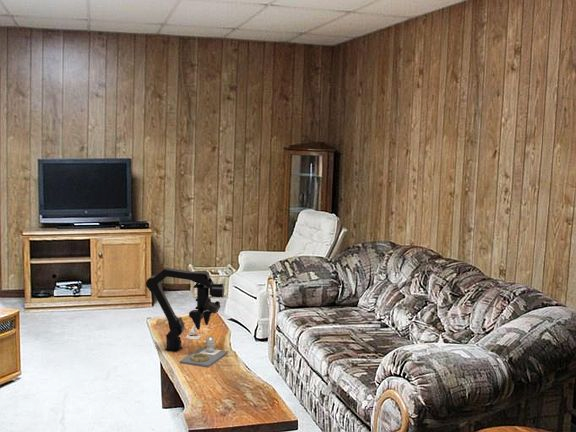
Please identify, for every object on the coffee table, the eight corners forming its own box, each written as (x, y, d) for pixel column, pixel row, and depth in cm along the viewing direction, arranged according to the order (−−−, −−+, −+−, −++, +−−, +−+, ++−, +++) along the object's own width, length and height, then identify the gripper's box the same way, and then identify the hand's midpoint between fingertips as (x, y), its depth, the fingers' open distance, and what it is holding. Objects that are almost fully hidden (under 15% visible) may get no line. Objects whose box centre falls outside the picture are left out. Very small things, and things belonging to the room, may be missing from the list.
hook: (208, 330, 358) (197, 323, 356) (195, 347, 361) (184, 340, 359) (209, 323, 365) (198, 317, 363) (196, 340, 368) (185, 333, 366)
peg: (212, 353, 334) (212, 339, 333) (204, 352, 335) (204, 338, 334) (215, 351, 337) (215, 337, 336) (208, 349, 339) (208, 336, 338)
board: (179, 363, 322) (179, 361, 322) (200, 349, 343) (200, 347, 343) (208, 367, 317) (208, 365, 317) (227, 353, 338) (227, 351, 338)
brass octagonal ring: (187, 360, 323) (187, 357, 323) (195, 355, 331) (195, 352, 330) (203, 363, 320) (203, 360, 320) (211, 357, 328) (211, 354, 328)
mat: (199, 353, 334) (199, 352, 334) (206, 348, 341) (206, 348, 341) (214, 355, 331) (214, 355, 331) (220, 350, 339) (221, 350, 339)
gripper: (209, 302, 327) (209, 334, 329) (225, 294, 344) (225, 324, 346) (188, 300, 330) (188, 331, 332) (205, 292, 348) (205, 321, 350)
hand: (202, 327), depth 340 cm, fingers open, 9 cm apart
